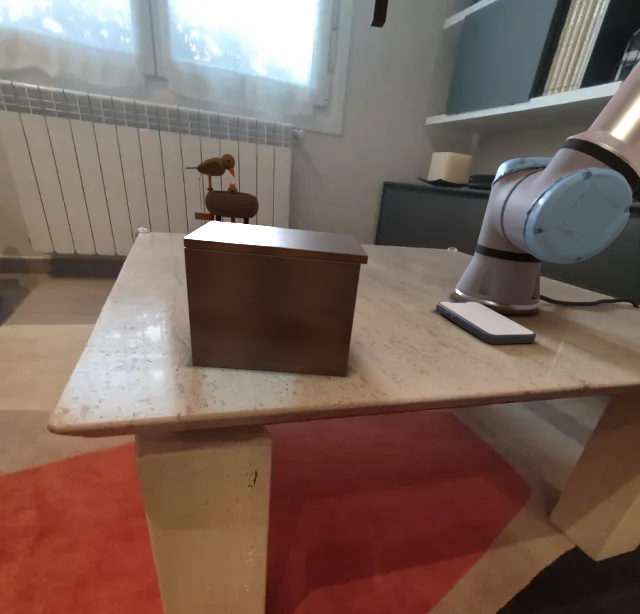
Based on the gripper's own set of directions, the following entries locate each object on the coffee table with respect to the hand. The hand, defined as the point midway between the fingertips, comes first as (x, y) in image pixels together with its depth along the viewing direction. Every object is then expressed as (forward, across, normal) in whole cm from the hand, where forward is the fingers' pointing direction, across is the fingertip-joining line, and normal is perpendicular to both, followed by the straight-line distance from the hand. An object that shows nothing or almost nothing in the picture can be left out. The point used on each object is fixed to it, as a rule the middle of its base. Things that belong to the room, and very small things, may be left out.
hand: (377, 23), depth 50 cm
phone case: (+35, +22, -3) cm, 41 cm away
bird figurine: (+35, -20, +17) cm, 43 cm away
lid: (+23, -10, -19) cm, 31 cm away
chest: (+34, -10, -19) cm, 41 cm away
